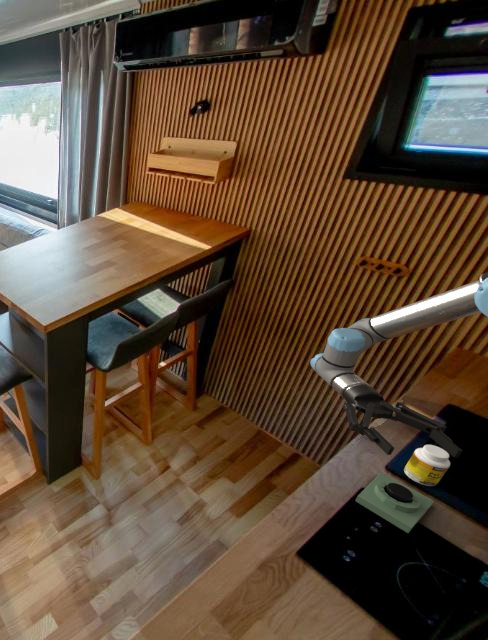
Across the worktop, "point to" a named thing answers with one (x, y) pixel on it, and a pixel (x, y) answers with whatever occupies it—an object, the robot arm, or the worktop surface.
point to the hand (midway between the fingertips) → (424, 452)
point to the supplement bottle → (427, 465)
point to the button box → (393, 503)
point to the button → (399, 492)
